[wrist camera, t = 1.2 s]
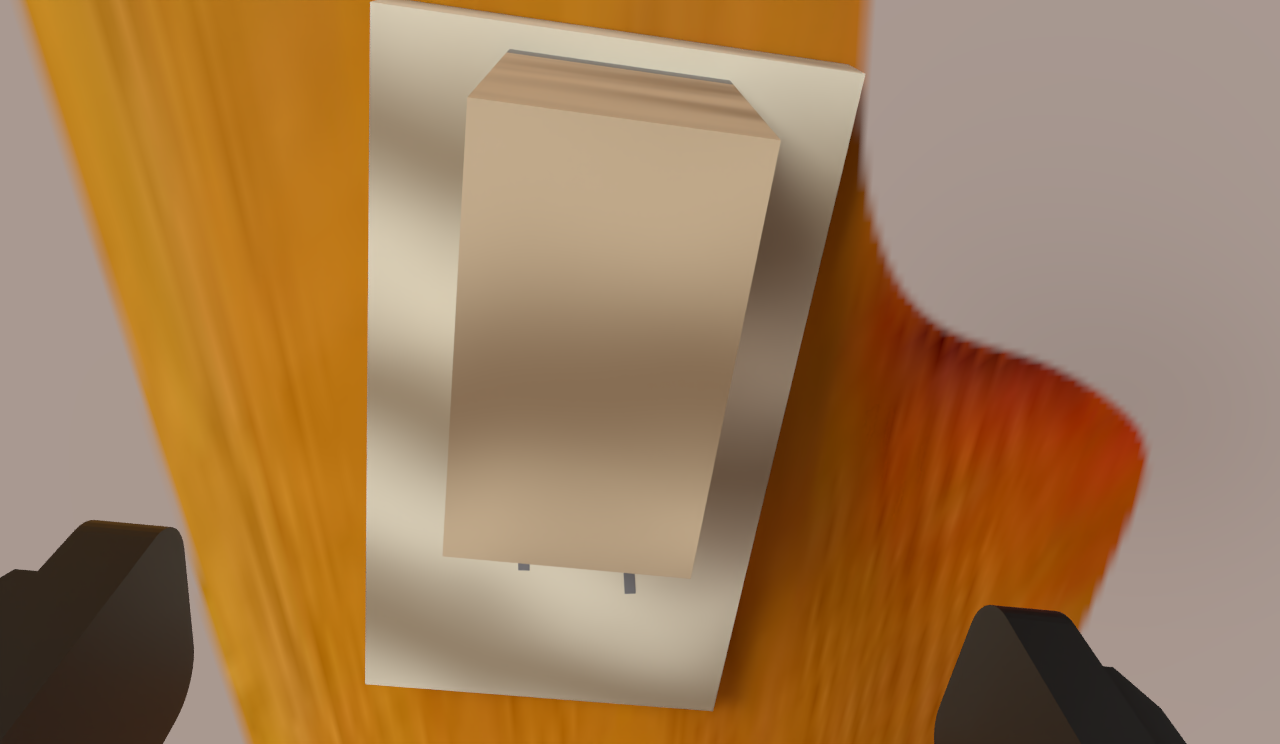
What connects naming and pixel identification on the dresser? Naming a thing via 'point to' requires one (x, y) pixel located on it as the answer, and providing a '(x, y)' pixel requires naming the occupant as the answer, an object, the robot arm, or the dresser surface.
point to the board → (423, 362)
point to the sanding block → (598, 309)
